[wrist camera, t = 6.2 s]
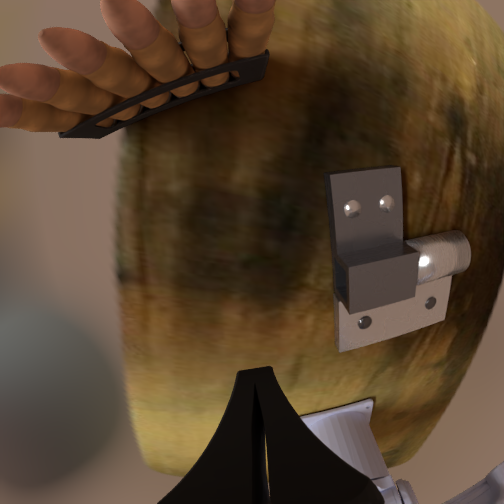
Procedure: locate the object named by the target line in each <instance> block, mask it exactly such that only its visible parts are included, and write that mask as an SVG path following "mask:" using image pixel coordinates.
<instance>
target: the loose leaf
mask: <svg viewBox="0 0 504 504" xmlns="http://www.w3.org/2000/svg"><path fill="white" fill-rule="evenodd" d="M324 179H325V187H326V196H327V205H328V215H329V225H330V237H331V249H332V263H333V280H334V291H335V293H336V294H337V296H338V297H339V299H340V301H341V302H342V304H343V305H344V307H345V308H346V310H347V312H348V313H349V315H351V314H355V313H359V312H363V311H367V310H370V309H374V308H378V307H382V306H385V305H389V304H393V303H396V302H400V301H403V300H407V299H410V298H413V297H415V293H416V283H417V271H418V255H419V252H418V251H417V250H415V249H414V248H412V247H411V246H409V245H408V244H406V243H405V242H403V203H402V182H401V168H400V167H398V166H393V165H388V166H378V167H368V168H359V169H350V170H342V171H334V172H326V173H324Z"/></svg>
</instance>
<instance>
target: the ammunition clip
mask: <svg viewBox="0 0 504 504" xmlns="http://www.w3.org/2000/svg"><path fill="white" fill-rule="evenodd" d="M171 3H172V7H173V10H174V13H175V15H176V20H177V23H178V26H179V28H178V30H179V39H180V41H181V42H179V43H178V42H177V40H176V39H175V37H174V35H173V34H172V33H171V32H169V31H168V30H166V29H165V28H163V26H162V25H161V24H160V23H159V21H158V20H156V19H155V18H154V16H153V15H152V14H151V12H150V11H149V10H148V9H147V8H146V7H145V6H144V5H142V4H141V3H140V2H138V1H137V0H100V7H101V12H102V15H103V17H104V19H105V22H106V24H107V25H108V27H109V29H110V30H111V32H112V33H113V34H114V36H115V37H116V38H117V39H118V40H119V41H120V42H122V43H123V45H124V47H125V48H126V49H127V50H128V51H129V52H130V53H131V55H132V57H131V56H130V55H129V54H127V53H126V52H125V51H123V50H122V49H119V48H116V47H111V46H109V45H107V44H106V43H104V42H102V41H99V40H97V39H96V38H94V37H92V36H91V35H89V34H86V33H84V32H81V31H79V30H74V29H70V28H61V27H54V28H53V27H52V28H47V29H43V30H42V31H40V32H39V34H38V39H39V42H40V44H41V46H42V48H43V49H44V50H45V51H46V52H47V53H48V55H49V56H51V57H52V58H53V59H54V60H56V61H57V62H58V63H59V64H61V65H63V66H64V67H66V68H67V69H69V70H63V69H59V68H54V67H48V66H45V65H39V64H30V63H16V64H9V65H5V66H1V67H0V88H1V89H2V90H4V91H6V92H8V93H10V94H0V128H1V127H8V128H18V129H23V130H27V131H30V132H58V134H59V137H60V138H95V139H100V138H102V137H104V136H106V135H108V134H110V133H113V132H115V131H117V130H119V129H121V128H123V127H125V126H127V125H130V124H132V123H134V122H136V121H139V120H141V119H143V118H146V117H148V116H151V115H153V114H156V113H158V112H161V111H163V110H166V109H168V108H171V107H174V106H176V105H179V104H182V103H184V102H187V101H190V100H193V99H196V98H199V97H202V96H205V95H208V94H211V93H215V92H218V91H221V90H224V89H228V88H231V87H235V86H239V85H242V84H246V83H250V82H254V81H258V80H261V79H263V77H264V74H265V71H266V67H267V63H268V59H269V51H268V49H266V46H267V43H268V40H269V37H270V34H271V31H272V28H273V25H274V21H275V17H274V6H275V0H233V2H232V7H231V9H230V12H229V15H228V28H225V24H224V22H223V20H222V19H221V17H220V15H219V11H218V7H217V6H216V1H215V0H171ZM227 42H228V49H229V52H227ZM265 49H266V50H265ZM183 51H186V53H187V55H188V57H189V59H190V61H191V63H192V64H190V63H189V61H188V59H187V57H186V56H185V54H184V52H183ZM264 52H265V54H264ZM11 94H12V95H11Z"/></svg>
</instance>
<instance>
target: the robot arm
mask: <svg viewBox="0 0 504 504" xmlns="http://www.w3.org/2000/svg"><path fill="white" fill-rule="evenodd" d="M372 408H373V400H372V399H367V400H364V401H360V402H357V403H353V404H350V405H346V406H343V407H339V408H335V409H331V410H327V411H323V412H319V413H315V414H310V415H306V416H301V417H299V415H298V414H297V413H296V411H295V410H294V409H293V407H292V406H291V404H290V403H289V401H288V400H287V398H286V396H285V395H284V393H283V391H282V390H281V388H280V386H279V384H278V382H277V379H276V377H275V375H274V372H273V368H272V367H271V366H266V367H260V368H254V369H248V370H241V371H238V373H237V376H236V380H235V384H234V388H233V391H232V394H231V397H230V400H229V403H228V405H227V408H226V410H225V413H224V415H223V417H222V419H221V421H220V424H219V426H218V428H217V430H216V432H215V434H214V435H213V437H212V439H211V441H210V442H209V444H208V446H207V447H206V449H205V450H204V452H203V453H202V455H201V456H200V458H199V459H198V461H197V462H196V463H195V465H194V466H193V467H192V468H191V470H190V471H189V472H188V473H187V474H186V475H185V476H184V478H183V479H182V480H181V481H180V482H179V483H178V484H177V485H176V486H175V487H174V488H173V489H172V490H171V491H170V492H169V493H168V494H167V495H166V496H165V497H164V498H163V499H162V500H160V501H159V502H158V503H157V504H419V503H418V501H417V498H416V496H415V493H414V491H413V490H412V487H411V485H410V483H409V482H408V481H405V480H402V479H399V480H397V481H396V484H397V487H398V491H397V489H396V486H395V484H394V481H393V479H392V476H391V475H389V472H388V470H387V467H386V465H385V462H384V460H383V457H382V455H381V452H380V450H379V448H378V445H377V443H376V440H375V438H374V436H373V433H372V431H371V428H370V426H369V423H370V418H371V413H372ZM265 435H266V446H267V459H268V472H269V488H270V496H269V489H268V482H267V474H266V450H265ZM398 492H399V494H398ZM399 495H400V496H399ZM400 497H401V499H400ZM443 504H504V461H503V462H502V463H500V464H499V465H498V466H496V467H495V468H494V469H493V470H492V471H491V472H490V473H489V474H488V475H487V476H486V477H485V478H484V479H483V480H481V481H479V482H478V483H476V484H475V485H473V486H472V487H470V488H469V489H467V490H465V491H464V492H462V493H460V494H459V495H457V496H455V497H453V498H452V499H450V500H448V501H446V502H444V503H443Z"/></svg>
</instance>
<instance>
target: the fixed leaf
mask: <svg viewBox="0 0 504 504" xmlns="http://www.w3.org/2000/svg"><path fill="white" fill-rule="evenodd" d="M403 242H405V243H406V244H408V245H409V246H411V247H412V248H414V249H415V250H417V251H418V252H419V255H418V271H417V283H416V293H415V297H413V298H410V299H407V300H403V301H400V302H396V303H393V304H389V305H385V306H382V307H378V308H374V309H370V310H367V311H363V312H359V313H355V314H351V315H349V313H348V312H347V310H346V308H345V307H344V305H343V304H342V302H341V301H340V299H339V297H338V296H337V294H336V293H334V320H335V344H336V346H337V349H338V351H339V353H340V352H344V351H348V350H351V349H355V348H359V347H362V346H366V345H369V344H373V343H376V342H380V341H383V340H386V339H390V338H393V337H396V336H399V335H402V334H405V333H408V332H411V331H414V330H417V329H420V328H423V327H426V326H429V325H431V324H434V323H437V322H439V321H442V320H444V319H445V314H446V309H447V304H448V298H449V292H450V285H451V278H452V275H454V274H457V273H461V272H464V271H465V270H466V269H467V268H468V266H469V264H470V260H471V249H470V245H469V242H468V240H467V238H466V236H465V235H464V234H463V233H462V232H461V231H459V230H452V231H447V232H443V233H438V234H433V235H429V236H424V237H419V238H415V239H410V240H405V241H403Z"/></svg>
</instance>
